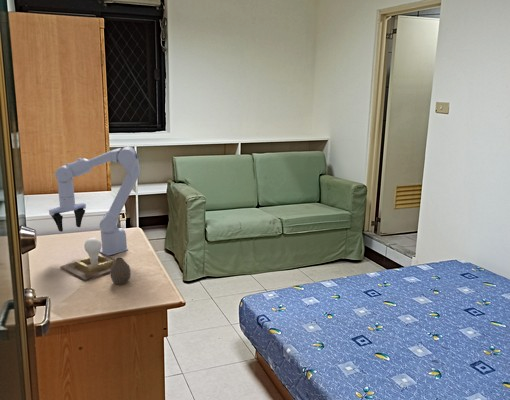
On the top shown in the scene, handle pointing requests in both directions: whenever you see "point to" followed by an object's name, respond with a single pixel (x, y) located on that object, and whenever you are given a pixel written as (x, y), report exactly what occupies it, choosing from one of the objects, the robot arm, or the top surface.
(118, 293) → the top surface
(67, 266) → the lamp base
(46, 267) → the top surface
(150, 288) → the top surface
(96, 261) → the white light bulb
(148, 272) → the top surface
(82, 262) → the socket collar
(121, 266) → the vase
